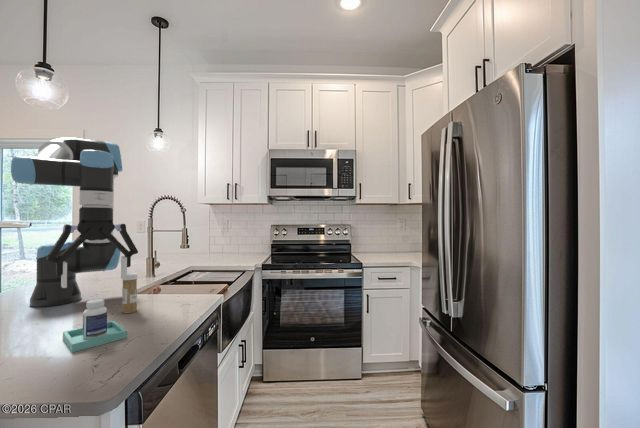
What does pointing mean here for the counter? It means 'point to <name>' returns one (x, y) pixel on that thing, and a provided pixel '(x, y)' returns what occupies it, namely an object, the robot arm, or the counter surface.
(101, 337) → the tray
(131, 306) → the sprinkles bottle
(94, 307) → the pill bottle
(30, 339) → the counter surface
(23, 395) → the counter surface
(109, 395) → the counter surface
